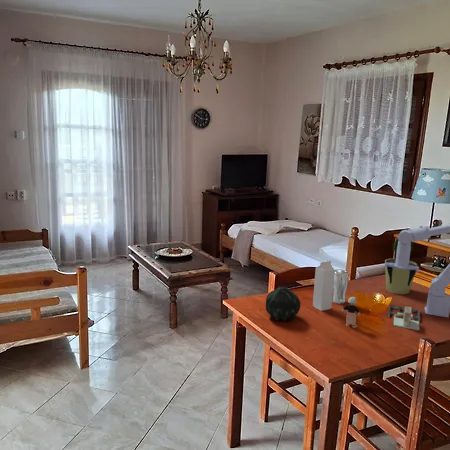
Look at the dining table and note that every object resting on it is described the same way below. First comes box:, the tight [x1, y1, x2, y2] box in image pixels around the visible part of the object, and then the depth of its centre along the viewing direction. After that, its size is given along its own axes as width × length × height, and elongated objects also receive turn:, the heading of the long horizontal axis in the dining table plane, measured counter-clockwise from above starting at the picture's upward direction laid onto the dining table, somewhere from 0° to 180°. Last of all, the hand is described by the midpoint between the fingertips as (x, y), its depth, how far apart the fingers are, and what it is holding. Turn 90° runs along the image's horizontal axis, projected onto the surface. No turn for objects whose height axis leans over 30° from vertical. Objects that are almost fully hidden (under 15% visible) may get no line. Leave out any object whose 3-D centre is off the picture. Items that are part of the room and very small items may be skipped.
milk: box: [312, 260, 336, 312], centre depth 199 cm, size 6×6×22 cm
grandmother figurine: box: [341, 296, 361, 329], centre depth 182 cm, size 8×4×13 cm, turn 71°
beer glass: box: [332, 268, 349, 305], centre depth 207 cm, size 7×7×15 cm
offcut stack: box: [393, 311, 415, 321], centre depth 192 cm, size 8×3×2 cm, turn 71°
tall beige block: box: [403, 306, 412, 327], centre depth 185 cm, size 2×7×6 cm, turn 158°
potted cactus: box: [384, 237, 418, 295], centre depth 223 cm, size 15×15×30 cm
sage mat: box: [393, 316, 420, 331], centre depth 186 cm, size 10×8×1 cm
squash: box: [265, 286, 301, 322], centre depth 188 cm, size 14×15×15 cm
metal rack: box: [387, 304, 421, 323], centre depth 196 cm, size 13×12×1 cm
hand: (399, 283), depth 204 cm, fingers open, 7 cm apart
